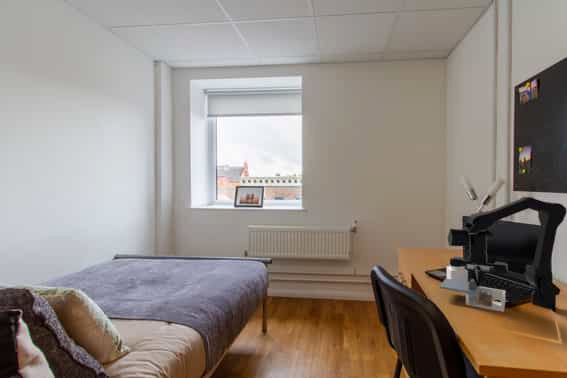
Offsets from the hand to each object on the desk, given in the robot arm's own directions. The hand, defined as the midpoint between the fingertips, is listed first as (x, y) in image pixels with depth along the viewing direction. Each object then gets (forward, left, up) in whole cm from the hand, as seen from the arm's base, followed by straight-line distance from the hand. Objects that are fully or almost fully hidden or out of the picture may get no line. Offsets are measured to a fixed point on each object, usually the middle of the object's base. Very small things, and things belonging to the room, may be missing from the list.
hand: (478, 286), depth 125 cm
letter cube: (-3, +1, -6) cm, 7 cm away
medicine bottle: (+10, -22, -7) cm, 25 cm away
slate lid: (+7, 0, -1) cm, 7 cm away
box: (-3, 0, -7) cm, 7 cm away
